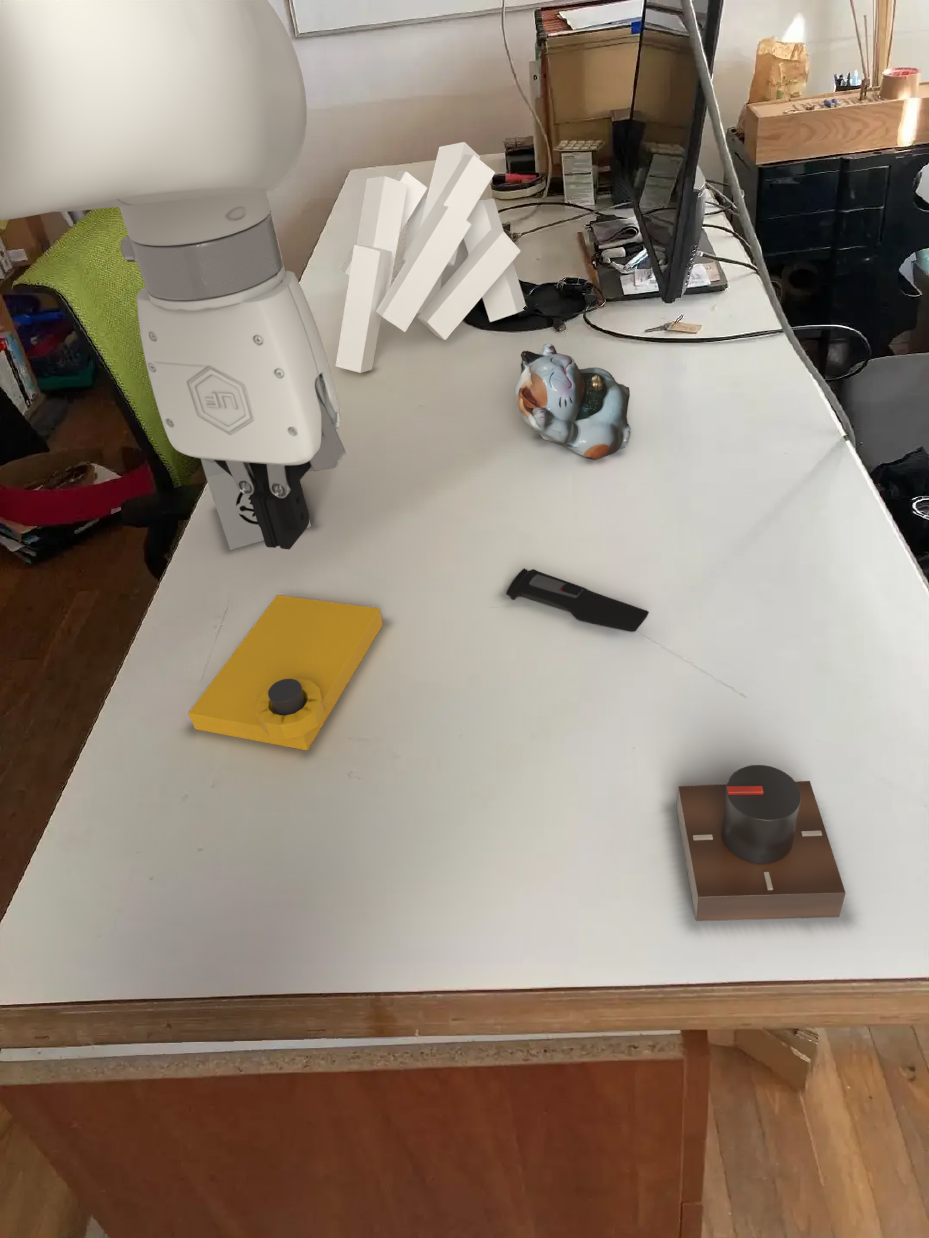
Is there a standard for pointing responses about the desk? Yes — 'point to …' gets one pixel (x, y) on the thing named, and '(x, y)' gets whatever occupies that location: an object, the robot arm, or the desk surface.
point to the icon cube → (233, 508)
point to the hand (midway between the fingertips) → (288, 536)
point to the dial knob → (760, 813)
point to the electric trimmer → (576, 600)
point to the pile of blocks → (427, 256)
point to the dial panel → (750, 888)
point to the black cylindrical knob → (286, 697)
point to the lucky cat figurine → (573, 403)
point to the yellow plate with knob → (288, 670)
